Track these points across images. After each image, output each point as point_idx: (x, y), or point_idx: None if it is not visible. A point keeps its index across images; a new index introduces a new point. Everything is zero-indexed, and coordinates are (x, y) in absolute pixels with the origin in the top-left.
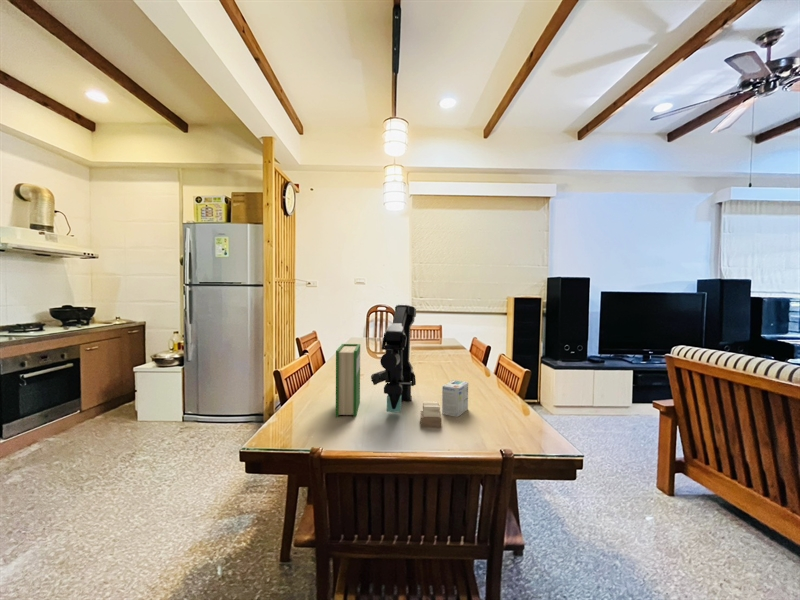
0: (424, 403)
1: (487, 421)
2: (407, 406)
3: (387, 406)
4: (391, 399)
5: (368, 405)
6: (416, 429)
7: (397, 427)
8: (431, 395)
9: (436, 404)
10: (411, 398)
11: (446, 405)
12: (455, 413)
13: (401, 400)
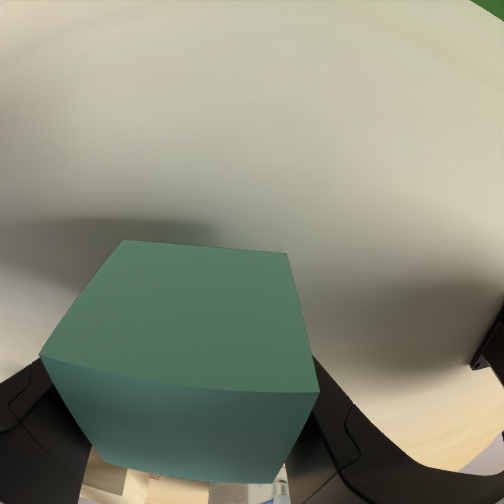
0: (90, 488)
1: (181, 495)
2: (405, 358)
3: (99, 277)
4: (22, 386)
5: (491, 76)
6: (27, 357)
7: (9, 282)
8: (479, 410)
9: (99, 501)
10: (486, 366)
11: (233, 499)
12: (213, 484)
13: (496, 321)
